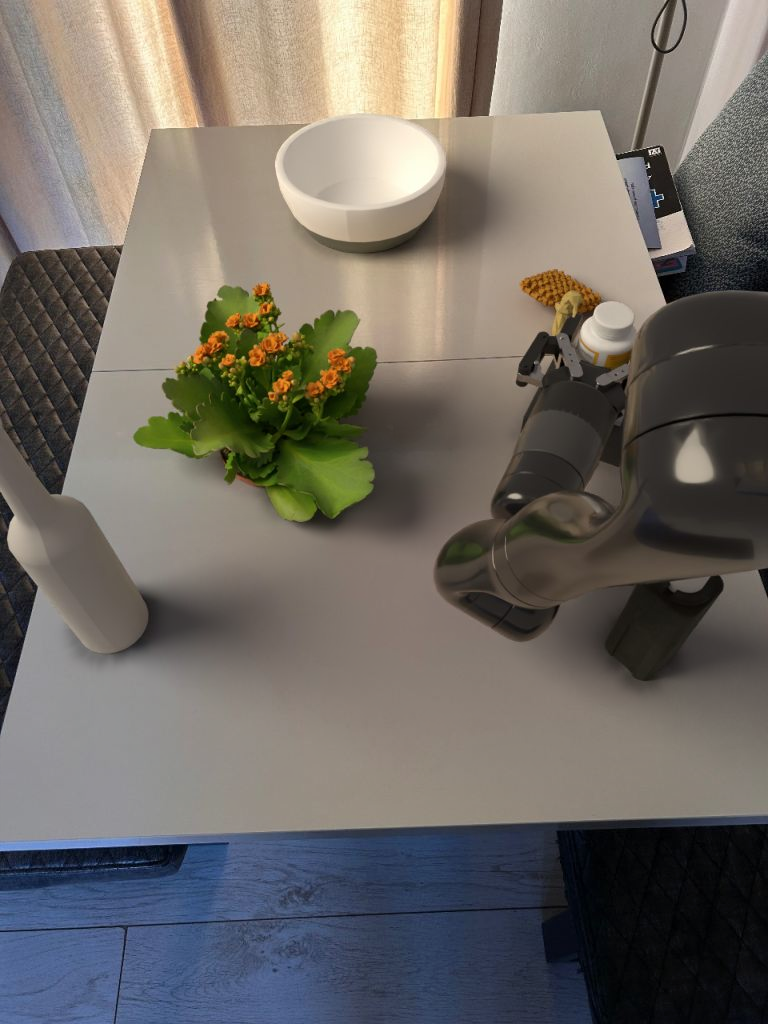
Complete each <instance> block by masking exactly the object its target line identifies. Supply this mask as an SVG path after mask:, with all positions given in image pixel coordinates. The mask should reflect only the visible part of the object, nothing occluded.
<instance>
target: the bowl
mask: <svg viewBox="0 0 768 1024" xmlns="http://www.w3.org/2000/svg"><path fill="white" fill-rule="evenodd" d="M447 162H448V157H447V154H446V150H445V148H444V145H443V144H442V143H441V141H440V140H439V138H438V137H436V136H435V134H433V133H432V132H431V131H429V130H428V129H427V128H425V127H423V126H421V125H420V124H418V123H416V122H413V121H411V120H408V119H405V118H402V117H397V116H394V115H389V114H381V113H365V112H364V113H361V112H360V113H346V114H340V115H335V116H330V117H326V118H322V119H320V120H317V121H313V122H312V123H309V124H308V125H306V126H303V127H301V128H300V129H298V130H297V131H295V132H294V133H292V134H290V136H289V137H288V138H287V139H286V140H285V141H284V142H283V143H282V144H281V146H280V148H279V150H278V151H277V153H276V157H275V161H274V166H275V174H276V179H277V182H278V187H279V190H280V193H281V195H282V197H283V199H284V201H285V203H286V205H287V206H288V208H289V210H290V212H291V213H292V216H293V217H294V218H295V219H296V221H298V222H299V224H300V225H301V226H302V227H303V228H304V230H306V232H307V233H308V234H309V236H310V237H311V238H312V239H314V240H315V241H317V242H318V243H319V244H322V245H323V246H325V247H328V248H329V249H332V250H337V251H339V252H345V253H352V254H367V253H378V252H382V251H386V250H390V249H393V248H395V247H398V246H400V245H402V244H404V243H406V242H407V241H409V240H410V239H412V238H413V237H414V236H415V235H416V234H417V233H418V231H419V230H420V229H421V227H422V226H423V224H424V223H425V222H426V220H427V219H428V217H429V216H430V215H431V213H432V212H433V211H434V209H435V207H436V204H437V202H438V200H439V199H440V195H441V193H442V190H443V188H444V185H445V179H446V172H447V168H448V167H447V166H448V163H447Z"/></svg>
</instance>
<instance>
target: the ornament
mask: <svg viewBox="0 0 768 1024" xmlns="http://www.w3.org/2000/svg"><path fill="white" fill-rule="evenodd" d="M519 286H520V288H521V289H520V290H521V291H522V292H523V293H524V294H527V295H528V297H530V298H534V300H535V301H536V302H539V303H540V302H541V303H542V306H544V307H547V306H548V305H549V307H550V309H551V310H553V309H555V310H556V312H555V316H554V320H553V324H552V328H551V334H552V335H551V336H556V335H557V334H559V333H560V331H561V329H562V327H563V325H564V323H565V321H566V319H567V318H568V315H570V314H572V316H571V317H575V315H576V313H578V314H581V315H582V314H583V313H587V312H589V311H593V310H595V309H596V307H597V306H598V305H600V304H601V301H602V298H601V296H600V293H599V292H593V288H591V287H586V284H584V283H582V282H580V283H579V281H578V280H577V279H576V278H573V279H572V275H570V274H565V271H564V270H558V269H557V268H554V269H552V270H551V269H548V270H546V271H543V272H541V273H537V274H536V275H531V276H528V277H524V279H523V280H520V282H519Z"/></svg>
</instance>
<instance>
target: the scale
mask: <svg viewBox="0 0 768 1024" xmlns="http://www.w3.org/2000/svg"><path fill="white" fill-rule="evenodd" d="M555 369H556V365H555V361H554V358H553V357H552V360H551V362H550V364H549V366H548V368H547V370H546V372H545V374H546V373H548V372H550V371H553V370H555ZM540 394H541V390H540V387H538V388H537V389H536V392H535V394H534V396H533V398H532V400H531V401H530V403H529V405H528V408H527V410H526V412H525V413H524V415H523V418H522V423H521V428H520V434H521V432H522V430H523V428H524V426H525V424H526V422H527V420H528V418H529V416H530V414H531V412H532V410H533V408H534V406H535V404H536V402H537V400H538V398H539V396H540ZM623 423H624V415H623V416H622V417H620V418H619V419H617V420H616V421H615V423H614V426H613V428H612V431H611V433H610V435H609V438H608V440H607V443H606V445H605V447H604V450H603V452H602V455H601V457H600V460H599V462H603V463H606V464H609V465H612V466H615V467H619V466H620V461H621V447H622V435H623Z"/></svg>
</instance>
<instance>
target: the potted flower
mask: <svg viewBox="0 0 768 1024" xmlns="http://www.w3.org/2000/svg"><path fill="white" fill-rule="evenodd" d="M251 289H252V294H251V295H250V293H249V291H248V290H245V289H243V288H242V287H241V286H240V285H239V286H237V285H236V286H234V287H232V286H231V285H228V284H223V285H222V286H220V287H219V289H218V290H217V294H216V296H217V297H218V298H219V299H220V300H218V299H217V298H216V297H214V298H213V300H209V301H207V304H206V309H207V310H206V311H205V313H204V320H205V321H204V322H202V323H201V327H200V330H199V334H200V336H199V337H198V341H199V342H200V344H199V346H197V347H196V349H195V352H194V353H193V354H190V355H189V356H187V358H186V359H187V362H186V361H184V360H181V361H180V362H179V364H178V366H177V365H175V366H173V370H174V372H175V374H176V379H175V378H173V377H171V378H170V377H165V378H164V381H163V382H162V383H161V390H162V392H163V393H164V397H165V398H166V399H168V400H169V401H171V402H170V405H171V406H172V407H173V408H175V409H176V410H177V411H178V412H177V411H176V412H174V411H168V413H167V418H166V417H164V416H161V415H156V416H150V417H149V418H148V419H147V425H143V426H141V427H138V428H137V430H136V431H135V432H134V433H133V436H132V439H133V441H134V442H135V443H136V444H137V445H138V446H140V447H145V448H149V449H153V450H170V451H173V452H175V453H177V454H180V455H184V456H185V457H186V458H189V459H194V460H200V459H203V458H206V457H208V455H212V454H213V452H218V453H220V457H221V460H222V462H223V464H224V465H225V466H224V468H225V469H226V473H225V475H224V476H223V480H224V481H225V482H226V483H227V486H230V485H232V484H233V483H234V481H235V478H236V479H239V480H240V481H242V482H244V483H246V484H248V485H250V486H253V487H261V488H262V487H264V488H265V491H266V494H267V495H268V498H269V500H270V502H271V504H272V506H273V508H274V509H275V511H276V513H277V514H278V515H279V516H280V517H281V518H282V519H283V520H284V521H289V522H294V521H296V522H301V523H304V522H307V521H310V520H311V519H313V517H314V516H315V514H316V512H317V511H318V509H319V510H321V512H322V513H323V515H324V516H326V517H328V518H329V519H335V518H336V517H337V516H339V515H340V514H341V513H342V512H343V511H344V510H346V509H348V508H349V507H352V506H353V505H355V504H358V503H359V502H361V501H363V500H365V499H366V498H367V497H368V496H369V495H370V494H371V493H373V490H374V487H375V485H374V484H373V483H372V482H373V481H374V480H375V478H376V473H375V470H374V468H373V467H374V464H373V463H372V462H371V461H369V460H367V459H366V458H368V456H369V447H368V446H363V447H362V446H361V447H360V444H359V443H358V442H355V441H353V440H350V439H352V438H357V439H358V438H361V437H363V436H364V435H363V434H362V433H364V432H365V431H368V430H369V428H368V427H367V426H363V427H361V426H358V425H353V424H352V425H351V424H350V423H345V424H343V423H342V424H341V423H340V421H341V418H343V419H348V418H352V417H354V416H355V417H356V416H357V415H359V410H362V409H363V403H364V402H366V400H367V395H366V393H367V392H368V390H369V389H370V382H371V381H372V379H373V377H374V375H375V370H376V368H377V366H378V361H377V359H378V354H377V349H375V348H373V347H371V346H368V345H367V346H365V347H364V348H363V347H362V346H355V347H352V346H351V345H350V343H351V341H352V339H353V337H354V334H355V331H356V330H357V328H358V327H359V324H360V322H361V318H359V317H358V314H356V312H355V311H353V310H350V309H345V310H343V311H341V310H340V309H337V310H336V312H335V311H334V310H332V309H327V310H326V311H324V312H323V313H321V314H320V316H319V317H315V318H314V320H313V325H312V324H310V323H308V322H305V323H303V324H302V325H301V327H299V329H298V331H294V332H293V335H291V339H290V337H288V336H287V334H286V333H284V332H282V331H280V330H279V329H280V328H281V327H283V326H284V325H285V322H282V323H280V324H278V323H277V321H278V319H279V316H281V315H282V314H283V313H282V311H281V309H280V308H279V307H277V306H276V302H275V300H274V297H273V293H272V291H271V284H270V283H267V282H262V283H261V284H259V283H257V284H255V285H254V287H251ZM272 325H273V326H274V329H273V327H272ZM287 341H288V343H286V342H287ZM284 343H285V344H284ZM180 413H182V415H181V414H180Z"/></svg>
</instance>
